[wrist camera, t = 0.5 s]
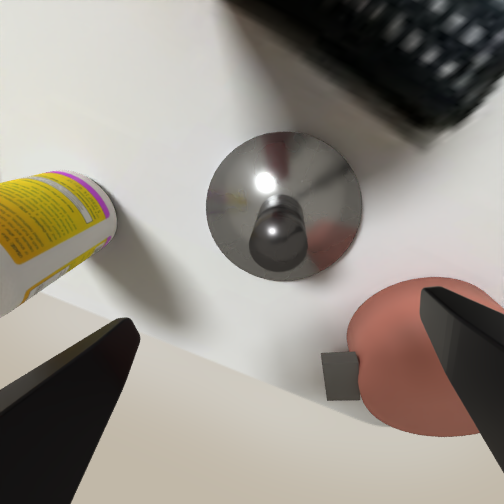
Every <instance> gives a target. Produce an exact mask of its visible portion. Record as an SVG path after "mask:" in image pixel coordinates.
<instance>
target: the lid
mask: <svg viewBox="0 0 504 504" xmlns="http://www.w3.org/2000/svg"><path fill="white" fill-rule="evenodd" d="M361 211H362V200H361V192H360V188H359V184H358V181H357V179H356V177H355V174H354V172H353V171H352V169H351V167H350V166H349V164H348V163H347V161H346V160H345V159H344V158H343V157H342V156H341V155H340V154H339V153H338V152H337V151H336V150H335V149H334V148H332V147H331V146H329V145H328V144H326V143H325V142H323V141H321V140H319V139H317V138H315V137H313V136H310V135H306V134H303V133H297V132H290V131H289V132H273V133H267V134H264V135H260V136H257V137H255V138H253V139H251V140H249V141H246V142H245V143H243V144H242V145H240V146H238V147H237V148H236V149H234V150H233V151H232V152H231V153H230V154H229V155H228V156H227V157H226V158H225V159H224V160H223V161H222V163H221V164H220V165H219V167H218V168H217V170H216V172H215V173H214V176H213V178H212V180H211V182H210V186H209V189H208V193H207V199H206V214H207V221H208V225H209V229H210V232H211V234H212V237H213V239H214V241H215V242H216V244H217V246H218V247H219V249H220V250H221V252H222V253H223V254H224V255H225V256H226V257H227V258H228V259H229V260H230V261H231V262H232V263H233V264H235V265H236V266H238V267H239V268H240V269H242V270H244V271H246V272H248V273H250V274H252V275H255V276H257V277H261V278H264V279H270V280H279V281H287V280H296V279H302V278H305V277H309V276H312V275H314V274H316V273H319V272H320V271H322V270H324V269H326V268H327V267H329V266H330V265H332V264H333V263H334V262H335V261H336V260H338V259H339V258H340V257H341V256H342V255H343V253H344V252H345V251H346V250H347V248H348V247H349V245H350V244H351V242H352V241H353V239H354V237H355V235H356V233H357V230H358V227H359V224H360V218H361Z"/></svg>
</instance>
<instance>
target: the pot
mask: <svg viewBox="0 0 504 504" xmlns="http://www.w3.org/2000/svg"><path fill="white" fill-rule="evenodd" d="M432 286H441V287H444V288H446V289H448V290H451V291H453V292H455V293H457V294H460V295H462V296H464V297H467V298H469V299H471V300H473V301H476V302H478V303H480V304H482V305H485V306H487V307H489V308H491V309H494V310H496V311H498V312H500V313H503V314H504V309H503V308H502V307H501V306H500V305H499V304H498V303H497V302H495V301H494V300H493V299H492V298H491V297H490V296H489V295H487V294H486V293H485V292H484V291H483V290H481V289H479V288H478V287H476V286H474V285H472V284H470V283H467V282H464V281H461V280H457V279H451V278H443V277H427V278H418V279H412V280H408V281H404V282H400V283H397V284H395V285H392V286H389V287H387V288H385V289H383V290H381V291H379V292H378V293H376V294H374V295H373V296H372V297H370V298H369V299H368V300H366V301H365V302H364V303H363V304H362V305H361V306H360V307H359V308H358V310H357V311H356V312H355V313H354V315H353V317H352V319H351V321H350V323H349V326H348V330H347V343H348V348H349V352H334V353H321V359H322V366H323V373H324V381H325V388H326V395H327V401H334V400H360V394H361V397H362V400H363V403H364V404H365V406H366V407H367V409H368V410H369V411H370V412H371V413H372V414H373V415H374V416H375V417H376V418H377V419H379V420H380V421H382V422H383V423H385V424H387V425H389V426H391V427H393V428H396V429H399V430H402V431H405V432H409V433H413V434H418V435H426V436H438V437H453V436H465V435H472V434H477V433H480V432H479V430H478V429H477V427H476V425H475V423H474V422H473V420H472V418H471V417H470V415H469V413H468V412H467V410H466V408H465V407H464V405H463V403H462V401H461V400H460V398H459V396H458V395H457V393H456V391H455V390H454V388H453V386H452V385H451V383H450V381H449V379H448V377H447V376H446V374H445V372H444V370H443V367H442V365H441V363H440V361H439V359H438V357H437V354H436V352H435V350H434V348H433V345H432V343H431V341H430V339H429V337H428V334H427V332H426V330H425V328H424V326H423V323H422V321H421V318H420V313H419V310H420V296H421V290H422V289H423V288H424V287H432Z"/></svg>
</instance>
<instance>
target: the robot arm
mask: <svg viewBox="0 0 504 504" xmlns="http://www.w3.org/2000/svg"><path fill="white" fill-rule="evenodd" d="M419 313H420V318H421V321H422V323H423V326H424V328H425V330H426V332H427V334H428V337H429V339H430V341H431V343H432V345H433V348H434V350H435V352H436V354H437V357H438V359H439V361H440V363H441V365H442V367H443V370H444V372H445V374H446V376H447V377H448V379H449V381H450V383H451V385H452V386H453V388H454V390H455V391H456V393H457V395H458V396H459V398H460V400H461V401H462V403H463V405H464V407H465V408H466V410H467V412H468V413H469V415H470V417H471V418H472V420H473V422H474V423H475V425H476V427H477V429H478V430H479V432H480V434H481V435H482V437H483V439H484V440H485V442H486V444H487V445H488V447H489V449H490V451H491V452H492V454H493V455H494V457H495V459H496V461H497V462H498V464H499V466H500V467H501V469H502V471H503V473H504V314H503V313H500V312H498V311H496V310H494V309H491V308H489V307H487V306H485V305H482V304H480V303H478V302H476V301H473V300H471V299H469V298H467V297H464V296H462V295H460V294H457V293H455V292H453V291H451V290H448V289H446V288H444V287H441V286H432V287H424V288H423V289H422V290H421V296H420V310H419ZM139 343H140V335H139V333H138V331H137V329H136V327H135V325H134V323H133V322H132V320H131V319H130V318H127V317H126V318H118V319H115V320H114V321H112V322H110V323H109V324H107V325H105V326H104V327H102V328H101V329H99V330H97V331H96V332H94V333H92V334H91V335H89V336H88V337H86V338H84V339H83V340H81V341H79V342H78V343H76V344H74V345H73V346H71V347H69V348H68V349H66V350H65V351H63V352H61V353H60V354H58V355H56V356H55V357H53V358H51V359H50V360H48V361H46V362H45V363H43V364H42V365H40V366H38V367H37V368H35V369H33V370H32V371H30V372H28V373H27V374H25V375H24V376H22V377H20V378H19V379H17V380H15V381H14V382H12V383H10V384H9V385H7V386H6V387H4V388H3V389H1V390H0V504H71V501H72V500H73V497H74V495H75V493H76V491H77V489H78V486H79V484H80V482H81V480H82V477H83V475H84V473H85V471H86V469H87V467H88V464H89V462H90V460H91V458H92V455H93V454H94V451H95V449H96V447H97V445H98V442H99V440H100V438H101V436H102V434H103V432H104V429H105V427H106V425H107V423H108V420H109V418H110V416H111V414H112V412H113V410H114V407H115V405H116V403H117V401H118V399H119V396H120V394H121V392H122V390H123V387H124V385H125V382H126V380H127V377H128V374H129V371H130V369H131V366H132V363H133V360H134V357H135V354H136V352H137V349H138V346H139Z"/></svg>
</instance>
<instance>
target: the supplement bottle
mask: <svg viewBox="0 0 504 504" xmlns="http://www.w3.org/2000/svg"><path fill="white" fill-rule="evenodd" d="M116 228H117V217H116V212H115V209H114V206H113V204H112V202H111V200H110V199H109V197H108V196H107V194H106V193H105V192H104V191H103V190H102V189H101V188H100V187H99V186H98V185H97V184H96V183H95V182H93V181H92V180H91V179H89V178H87V177H86V176H84V175H81V174H79V173H76V172H72V171H66V170H58V171H52V172H46V173H42V174H38V175H34V176H29V177H25V178H20V179H16V180H12V181H7V182H3V183H0V318H1V317H2V316H4V315H6V314H8V313H9V312H11V311H12V310H14V309H15V308H17V307H18V306H19V305H21V304H22V303H24V302H25V301H27V300H28V299H29V298H31V297H32V296H34V295H35V294H37V293H38V292H39V291H41V290H42V289H44V288H45V287H47V286H48V285H50V284H51V283H52V282H54V281H55V280H57V279H58V278H60V277H61V276H63V275H64V274H66V273H67V272H69V271H70V270H71V269H73V268H74V267H76V266H77V265H79V264H80V263H82V262H83V261H85V260H86V259H87V258H89V257H90V256H92V255H93V254H95V253H96V252H98V251H99V250H100V249H102V248H103V247H104V246H106V245H107V244H108V243H109V242H110V241H111V240H112V238H113V237H114V235H115V232H116Z"/></svg>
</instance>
